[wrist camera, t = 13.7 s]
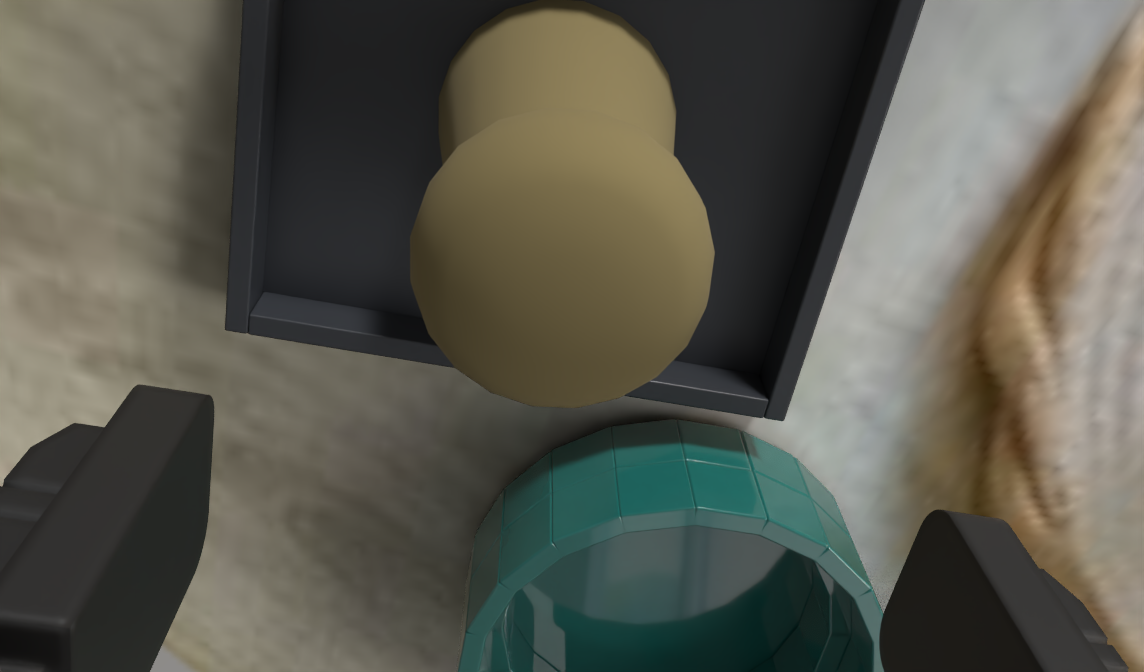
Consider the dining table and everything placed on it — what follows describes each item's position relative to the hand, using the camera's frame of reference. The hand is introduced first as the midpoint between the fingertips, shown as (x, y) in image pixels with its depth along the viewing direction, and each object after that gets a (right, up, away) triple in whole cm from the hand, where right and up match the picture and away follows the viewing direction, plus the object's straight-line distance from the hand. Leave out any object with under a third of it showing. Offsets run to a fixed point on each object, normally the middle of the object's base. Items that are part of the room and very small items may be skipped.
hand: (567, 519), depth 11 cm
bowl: (+3, -6, +22) cm, 23 cm away
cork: (0, +8, +15) cm, 17 cm away
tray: (0, +8, +15) cm, 17 cm away
